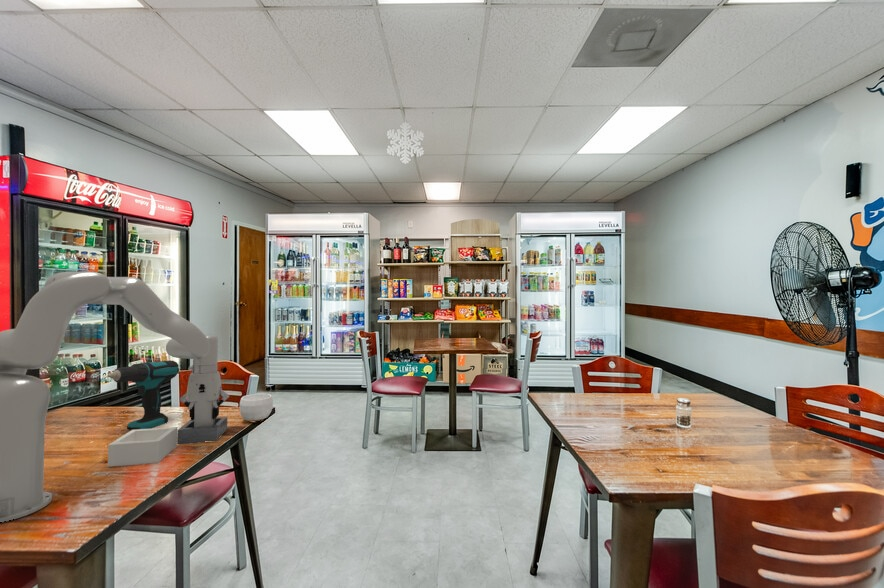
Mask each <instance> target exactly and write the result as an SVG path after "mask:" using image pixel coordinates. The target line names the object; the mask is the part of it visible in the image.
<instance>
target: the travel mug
mask: <svg viewBox="0 0 884 588" xmlns="http://www.w3.org/2000/svg"><path fill="white" fill-rule="evenodd" d="M196 385H197V384H196ZM204 386H205V385H204V384H200V387H199V390H201V391H200V392H199V394H201V395H199V400H198V402H195V405H194V428H195V427H210V426H214V423H215V419H212V415H213V408H214V405H213V403H212V401H210V402H207V401H205V393H206V392H204V389H205V387H204ZM202 390H203V391H202ZM203 394H204V395H203Z"/></svg>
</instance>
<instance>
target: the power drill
mask: <svg viewBox="0 0 884 588" xmlns="http://www.w3.org/2000/svg"><path fill="white" fill-rule="evenodd" d="M179 366H180V365H179V363H178V362H176V360H175V361H174V360H161V361H152V362H146V361H145V362H141V363H133V364H131V366H123V367H117V368H115V369H114V370H113V371H112V372H111V374H109V375H108V374H107V376H106V377H107V378H111V379H112V380H113V382H115V383H127V382H128V383H129V382H131V383H133V384H135V387H137V389H138V392H137V394H136V396H141V405H142V408H143V416H142V417H141V418H139V419H136V420H133V421H130V422H128V423H127V425H126V429H127V430H129V429H132V428H133V429H134V428H135V429H153V428H157V427H159V426H162V425H164V424H165V423H166V424H167V422H168V423H169V417H168V416H167V415H166V414H164V413H163V412H161V406H162V397H161V396H162V395H161V392H160V391H161V390H160V389H161V386H162V385H163V384H166V383H168V382H170V381H171V380H172V379H173V378H175V377H176V376H177V375H178V374H179V372H180V367H179ZM156 426H157V427H156Z"/></svg>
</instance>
